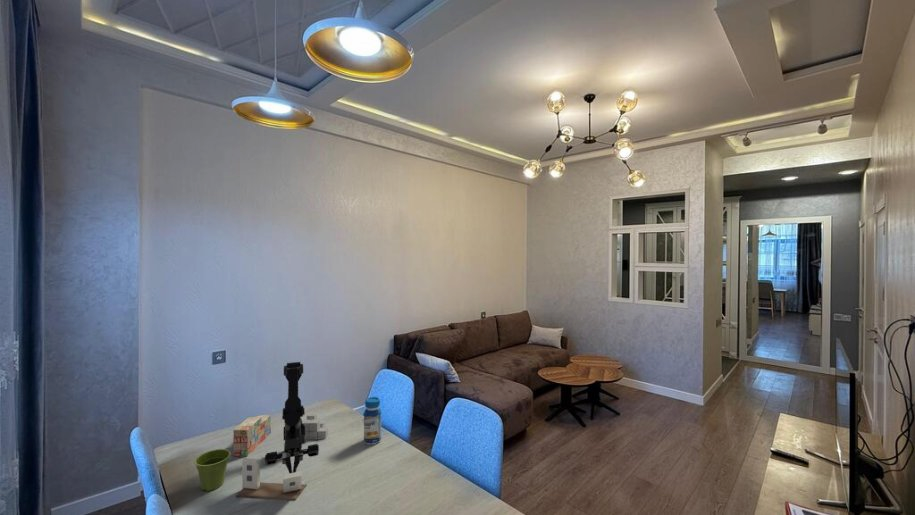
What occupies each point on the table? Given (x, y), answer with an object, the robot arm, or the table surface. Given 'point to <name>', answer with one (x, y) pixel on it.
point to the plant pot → (212, 468)
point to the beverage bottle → (372, 421)
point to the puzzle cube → (315, 427)
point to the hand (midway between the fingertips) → (292, 478)
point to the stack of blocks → (251, 434)
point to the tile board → (270, 492)
